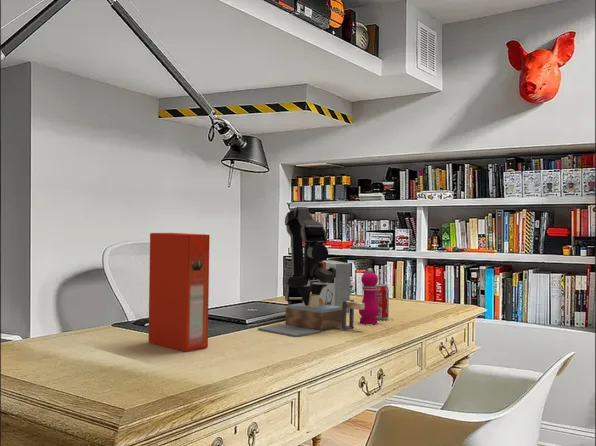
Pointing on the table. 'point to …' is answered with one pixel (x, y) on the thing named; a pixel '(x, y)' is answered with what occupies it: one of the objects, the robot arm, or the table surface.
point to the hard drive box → (336, 285)
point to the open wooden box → (320, 319)
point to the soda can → (382, 301)
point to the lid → (314, 305)
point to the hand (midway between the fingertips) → (310, 305)
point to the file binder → (179, 290)
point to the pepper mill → (369, 298)
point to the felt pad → (289, 330)
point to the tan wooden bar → (355, 305)
